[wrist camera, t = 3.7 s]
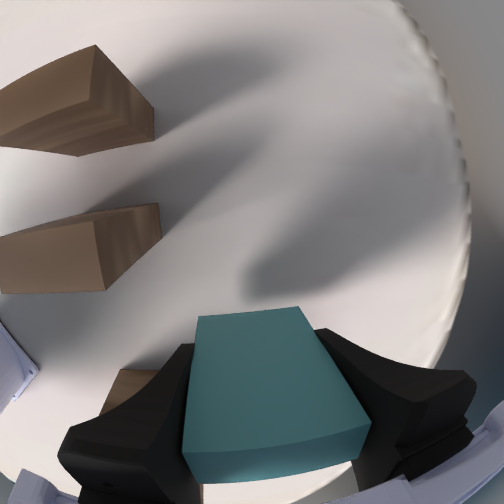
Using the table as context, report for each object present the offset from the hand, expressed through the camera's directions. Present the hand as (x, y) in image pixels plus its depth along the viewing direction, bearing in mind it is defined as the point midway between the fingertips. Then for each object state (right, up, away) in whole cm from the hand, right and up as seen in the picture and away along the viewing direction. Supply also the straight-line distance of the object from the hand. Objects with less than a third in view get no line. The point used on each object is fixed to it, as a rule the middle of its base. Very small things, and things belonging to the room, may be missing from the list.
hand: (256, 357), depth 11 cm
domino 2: (-8, +6, +3) cm, 10 cm away
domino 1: (-8, +11, +2) cm, 14 cm away
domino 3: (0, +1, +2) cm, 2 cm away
